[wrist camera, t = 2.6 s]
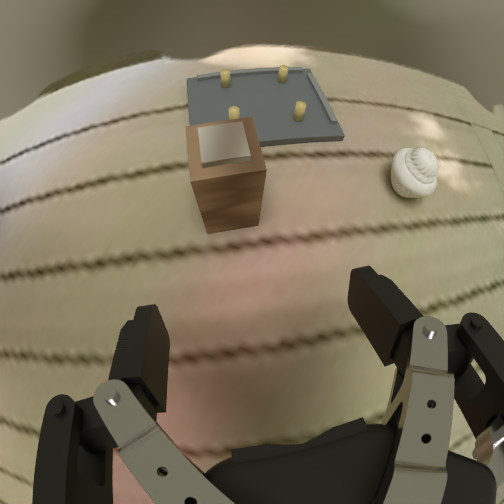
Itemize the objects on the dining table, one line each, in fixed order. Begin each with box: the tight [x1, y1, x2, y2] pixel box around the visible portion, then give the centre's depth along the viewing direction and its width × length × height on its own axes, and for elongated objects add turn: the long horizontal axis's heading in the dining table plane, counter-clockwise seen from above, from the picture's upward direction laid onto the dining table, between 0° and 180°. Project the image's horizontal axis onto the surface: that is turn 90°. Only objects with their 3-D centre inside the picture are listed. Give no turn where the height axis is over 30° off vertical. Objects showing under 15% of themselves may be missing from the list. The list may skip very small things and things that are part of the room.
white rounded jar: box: [391, 147, 439, 198], centre depth 26 cm, size 6×6×7 cm
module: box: [186, 117, 266, 234], centre depth 23 cm, size 5×5×11 cm
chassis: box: [187, 65, 345, 147], centre depth 30 cm, size 18×14×4 cm
